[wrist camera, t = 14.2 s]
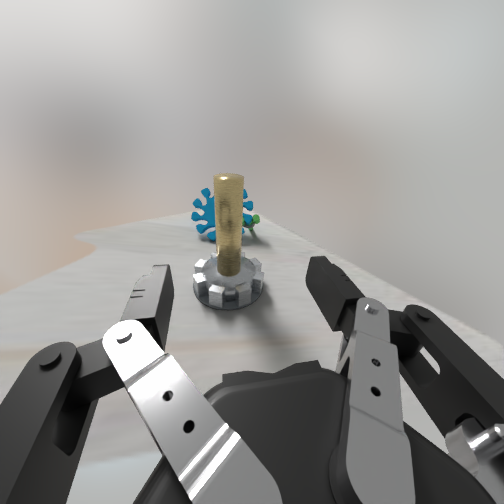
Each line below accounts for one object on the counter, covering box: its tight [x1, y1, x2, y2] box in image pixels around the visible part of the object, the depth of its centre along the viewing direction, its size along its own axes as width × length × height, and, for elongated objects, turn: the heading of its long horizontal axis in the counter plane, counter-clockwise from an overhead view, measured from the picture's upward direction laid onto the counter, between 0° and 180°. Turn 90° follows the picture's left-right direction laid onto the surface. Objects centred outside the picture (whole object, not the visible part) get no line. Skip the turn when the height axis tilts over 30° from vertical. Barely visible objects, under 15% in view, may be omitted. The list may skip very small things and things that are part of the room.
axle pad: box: [193, 284, 263, 310], centre depth 25 cm, size 8×8×1 cm
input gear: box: [193, 173, 264, 308], centre depth 22 cm, size 8×8×12 cm
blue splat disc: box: [191, 188, 260, 241], centre depth 36 cm, size 11×6×10 cm
